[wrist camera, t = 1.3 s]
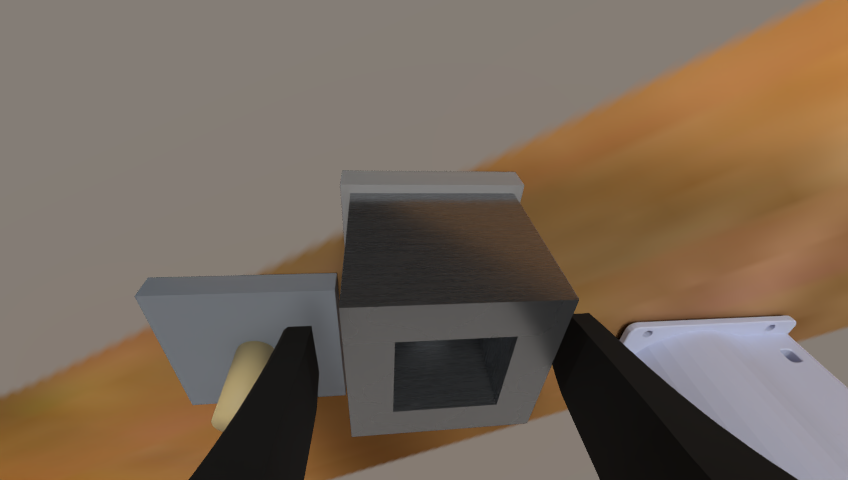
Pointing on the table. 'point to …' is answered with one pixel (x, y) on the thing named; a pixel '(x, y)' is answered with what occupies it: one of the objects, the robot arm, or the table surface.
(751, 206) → the table surface
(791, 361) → the robot arm
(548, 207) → the table surface
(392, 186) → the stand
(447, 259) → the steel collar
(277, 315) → the hub plate
